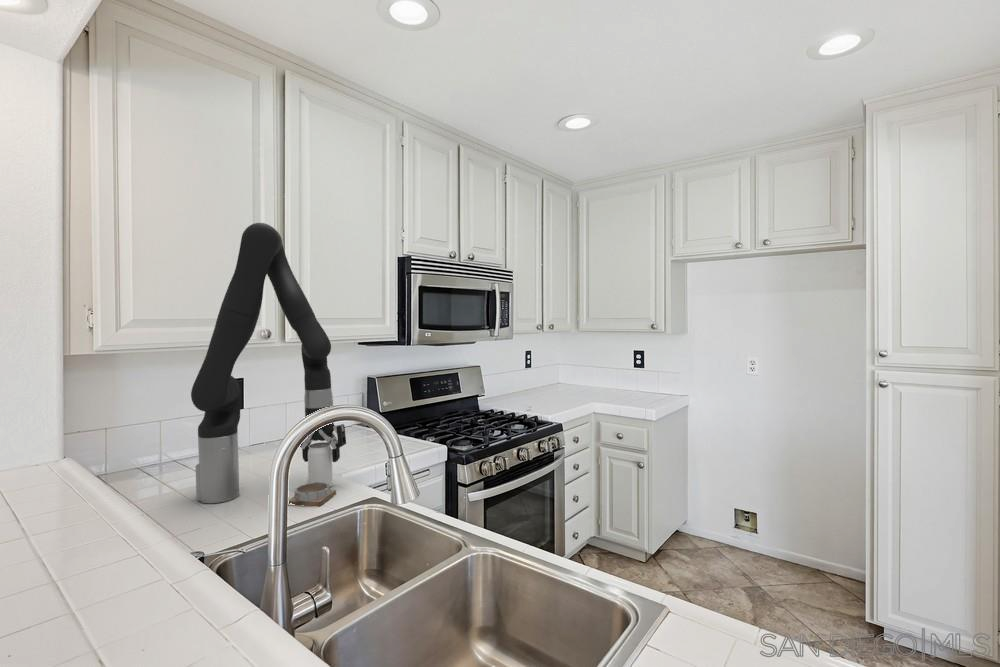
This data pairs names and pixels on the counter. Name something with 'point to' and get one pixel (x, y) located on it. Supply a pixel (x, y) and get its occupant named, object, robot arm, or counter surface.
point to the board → (313, 503)
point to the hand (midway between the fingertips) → (321, 461)
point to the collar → (313, 495)
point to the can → (320, 463)
